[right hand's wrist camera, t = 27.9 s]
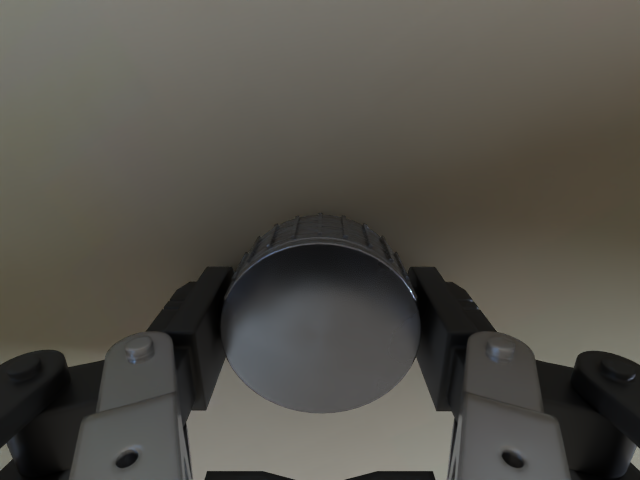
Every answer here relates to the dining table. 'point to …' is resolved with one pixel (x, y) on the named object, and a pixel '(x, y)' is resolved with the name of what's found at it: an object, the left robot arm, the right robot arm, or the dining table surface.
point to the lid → (320, 316)
